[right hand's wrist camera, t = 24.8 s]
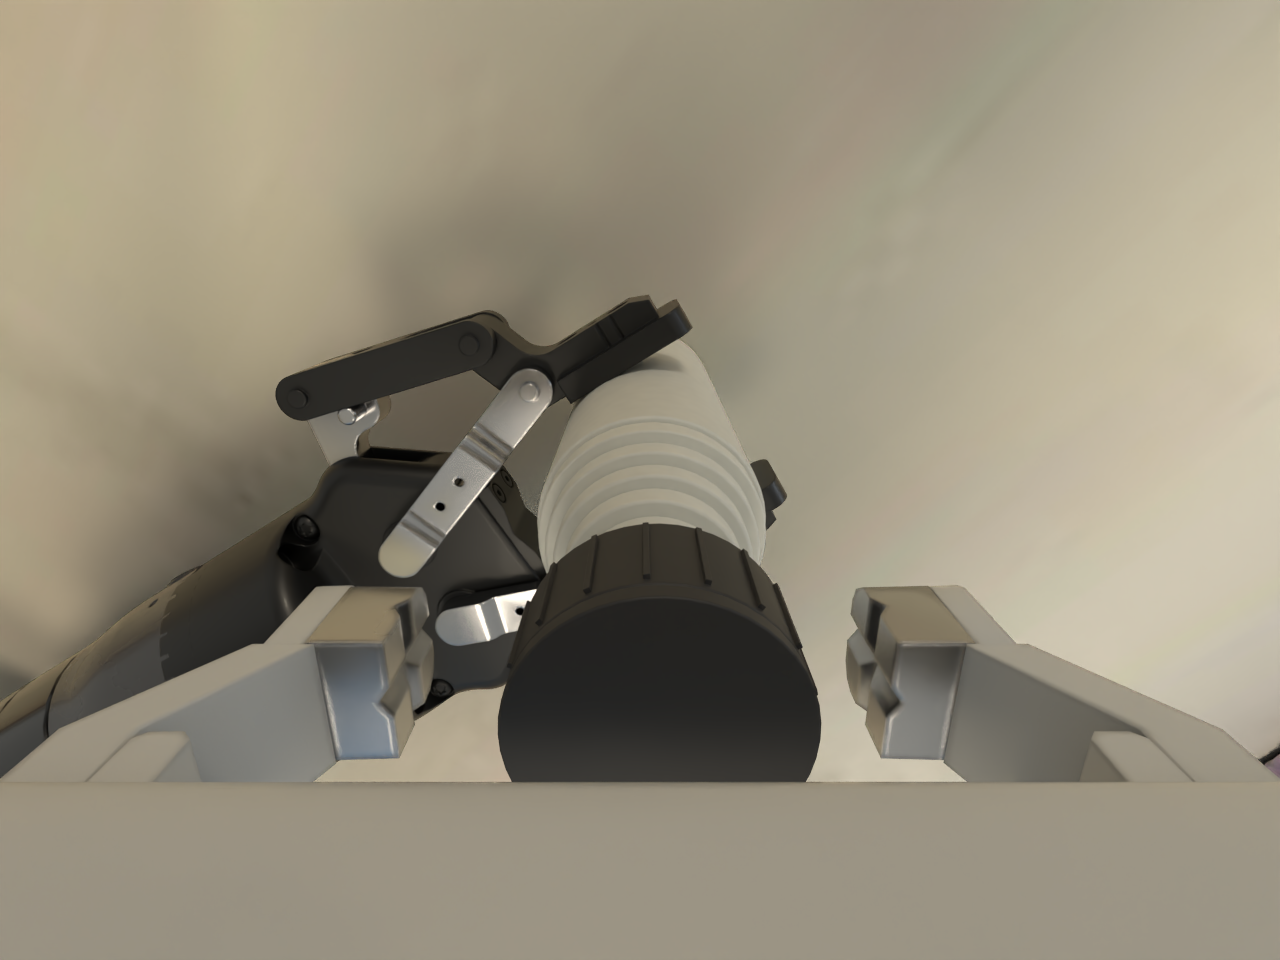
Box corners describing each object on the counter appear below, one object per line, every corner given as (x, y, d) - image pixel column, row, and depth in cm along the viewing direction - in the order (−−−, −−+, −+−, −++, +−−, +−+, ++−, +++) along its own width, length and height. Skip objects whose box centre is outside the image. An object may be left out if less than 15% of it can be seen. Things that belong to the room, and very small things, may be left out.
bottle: (734, 374, 25) (914, 648, 9) (664, 476, 27) (705, 879, 10) (626, 304, 24) (595, 460, 8) (560, 413, 26) (415, 742, 9)
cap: (841, 667, 10) (887, 768, 8) (627, 789, 11) (625, 907, 9) (690, 465, 9) (703, 527, 7) (466, 617, 10) (423, 710, 8)
